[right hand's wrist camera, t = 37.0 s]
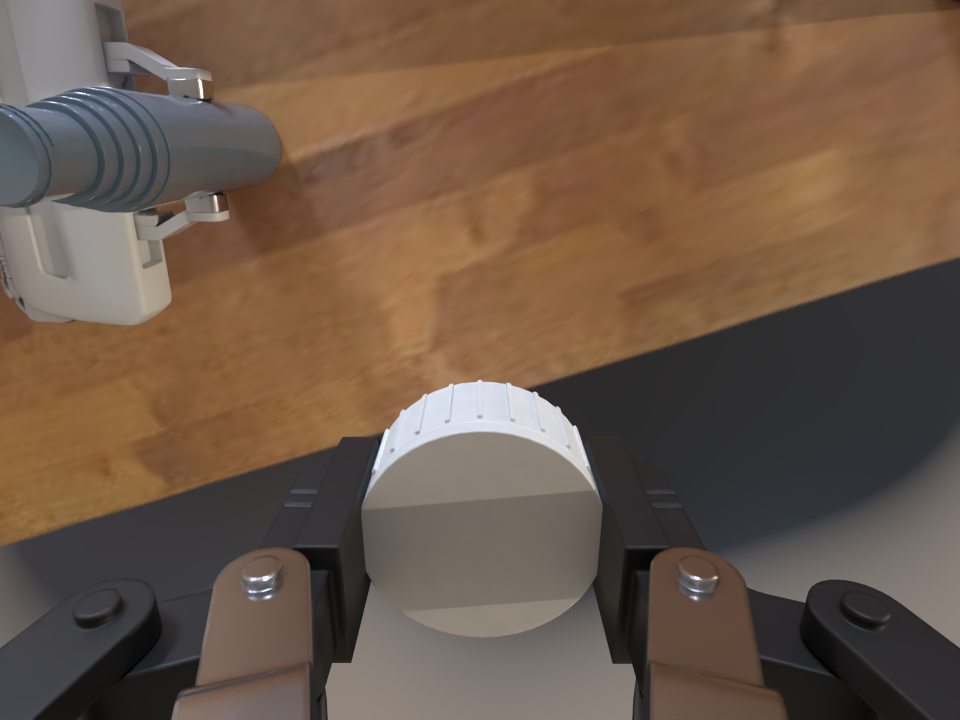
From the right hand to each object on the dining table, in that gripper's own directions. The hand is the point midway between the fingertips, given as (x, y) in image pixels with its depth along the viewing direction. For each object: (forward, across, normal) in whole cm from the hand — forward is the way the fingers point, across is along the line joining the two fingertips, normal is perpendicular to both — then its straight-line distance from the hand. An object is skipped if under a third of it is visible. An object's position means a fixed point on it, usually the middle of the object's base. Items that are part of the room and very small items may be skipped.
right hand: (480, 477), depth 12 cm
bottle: (+30, +16, -6) cm, 34 cm away
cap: (-2, 0, 0) cm, 2 cm away
